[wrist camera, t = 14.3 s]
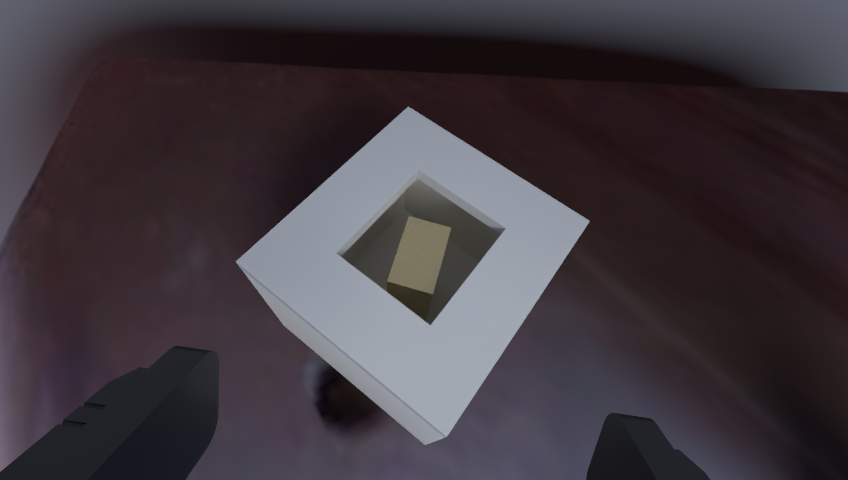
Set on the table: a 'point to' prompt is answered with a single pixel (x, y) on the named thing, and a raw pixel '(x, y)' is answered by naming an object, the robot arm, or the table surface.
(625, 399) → the table surface
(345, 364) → the box
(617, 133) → the table surface
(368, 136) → the table surface
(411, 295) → the tan rectangular block
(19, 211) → the table surface
